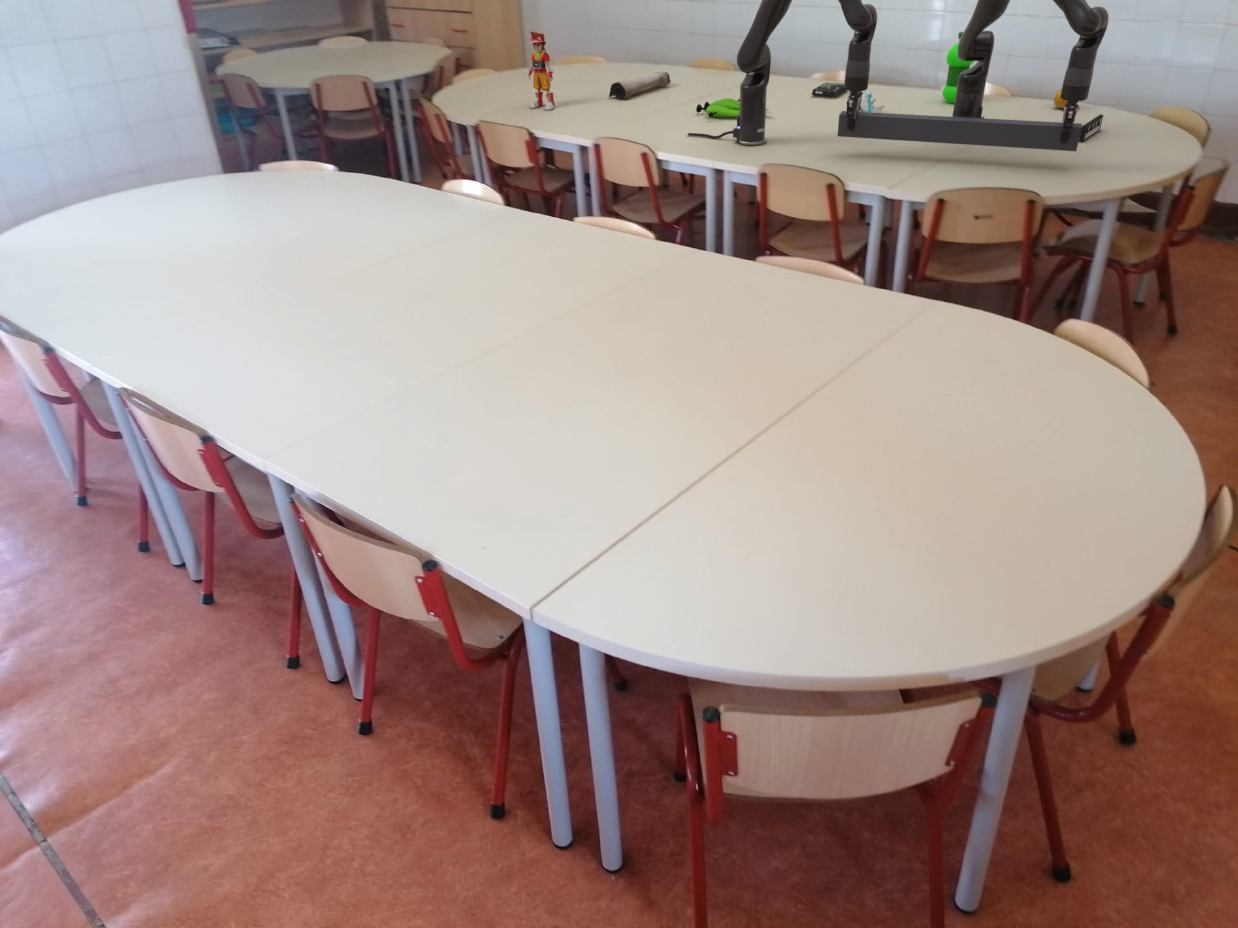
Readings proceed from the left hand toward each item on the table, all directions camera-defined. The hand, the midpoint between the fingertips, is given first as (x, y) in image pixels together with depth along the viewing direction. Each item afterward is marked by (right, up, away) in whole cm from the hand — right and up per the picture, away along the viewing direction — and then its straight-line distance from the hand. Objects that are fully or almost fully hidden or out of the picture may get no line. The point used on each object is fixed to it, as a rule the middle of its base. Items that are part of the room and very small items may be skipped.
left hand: (851, 128), depth 300 cm
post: (+30, -8, -10) cm, 33 cm away
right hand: (+60, -12, -23) cm, 65 cm away
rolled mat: (-68, +52, +97) cm, 130 cm away
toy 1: (-111, +40, +83) cm, 144 cm away
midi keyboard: (+84, 0, +9) cm, 85 cm away
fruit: (+91, +22, +39) cm, 101 cm away
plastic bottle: (+55, +31, +55) cm, 84 cm away
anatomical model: (+18, +20, +44) cm, 51 cm away
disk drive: (+11, +43, +77) cm, 89 cm away
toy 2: (-31, +26, +57) cm, 70 cm away
